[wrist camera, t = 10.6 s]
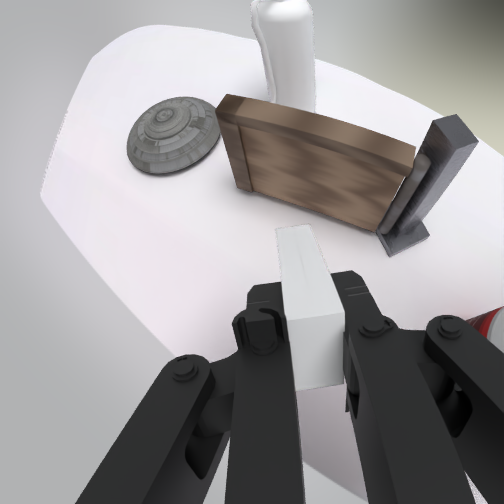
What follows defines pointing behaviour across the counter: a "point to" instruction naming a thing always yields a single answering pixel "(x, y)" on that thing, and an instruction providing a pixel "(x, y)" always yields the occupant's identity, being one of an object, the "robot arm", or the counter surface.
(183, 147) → the flying saucer
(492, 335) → the canned food
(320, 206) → the gate
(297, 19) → the fire extinguisher
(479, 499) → the counter surface
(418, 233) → the gate post
